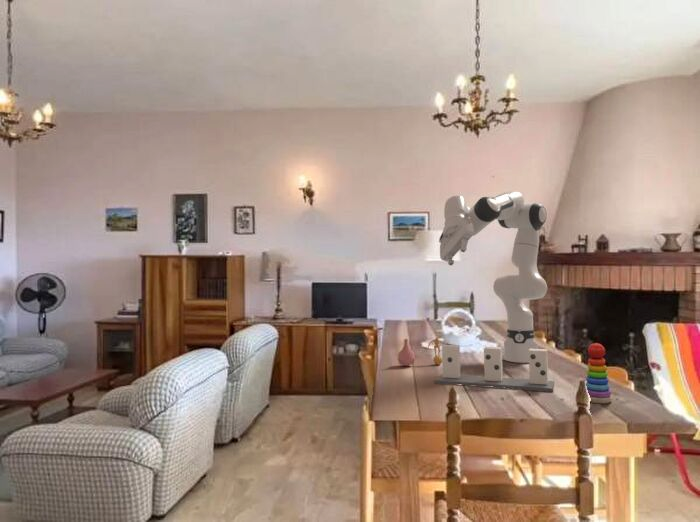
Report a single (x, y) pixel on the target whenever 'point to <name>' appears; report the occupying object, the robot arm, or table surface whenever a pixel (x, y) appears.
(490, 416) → the table surface
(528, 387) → the grey flat board
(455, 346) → the key one
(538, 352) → the key three
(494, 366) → the key two
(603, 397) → the stacking toy
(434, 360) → the figurine
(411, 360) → the perfume bottle
